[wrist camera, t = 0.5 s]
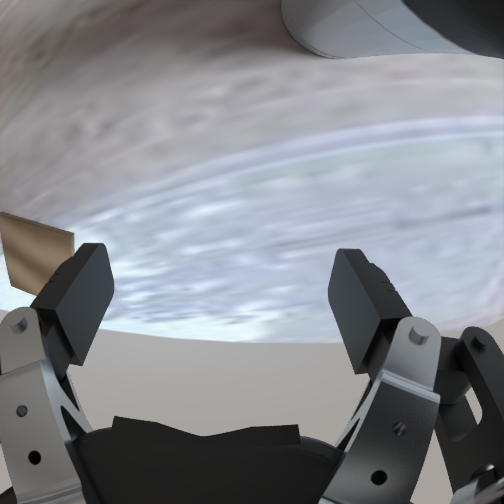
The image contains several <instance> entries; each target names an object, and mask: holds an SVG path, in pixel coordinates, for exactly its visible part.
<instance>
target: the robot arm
mask: <svg viewBox="0 0 504 504" xmlns="http://www.w3.org/2000/svg"><path fill="white" fill-rule="evenodd" d="M281 13H282V18H283V21H284V24H285V26H286V28H287V29H288V31H289V32H290V34H291V35H292V36H293V37H294V39H295V40H296V41H297V42H298V43H299V44H301V45H302V46H303V47H305V48H306V49H308V50H310V51H311V52H313V53H315V54H317V55H321V56H324V57H327V58H333V59H349V58H357V57H368V56H379V55H392V54H413V53H452V54H469V55H482V56H488V57H495V58H501V59H504V0H282V2H281ZM113 294H114V279H113V275H112V271H111V267H110V262H109V258H108V253H107V249H106V246H105V245H104V244H103V243H83V244H82V245H81V247H80V248H79V249H78V250H77V252H76V253H75V254H74V255H73V256H71V257H70V258H69V259H67V260H66V261H64V262H63V263H62V264H60V266H59V267H58V268H57V270H56V271H55V272H54V275H52V276H51V277H50V279H49V280H48V283H46V284H45V285H44V287H43V288H42V290H41V291H40V292H39V294H38V295H37V297H36V298H35V299H34V301H33V302H32V304H31V305H30V307H20V308H17V309H14V310H13V311H11V312H9V313H8V314H7V315H6V316H5V317H4V318H3V320H2V322H1V324H0V443H1V446H2V450H3V454H4V458H5V462H6V465H7V469H8V473H9V476H10V479H11V482H12V485H13V486H12V487H10V488H9V489H7V490H6V491H5V492H3V493H2V494H0V504H413V503H412V502H410V499H411V496H412V494H413V491H414V489H415V486H416V484H417V481H418V478H419V475H420V473H421V469H422V467H423V464H424V461H425V457H426V454H427V451H428V447H429V444H430V440H431V437H432V433H433V429H435V433H436V436H437V439H438V442H439V445H440V448H441V451H442V455H443V458H444V462H445V465H446V468H447V472H448V476H449V480H450V483H451V487H452V491H453V497H452V499H451V502H450V504H504V355H503V353H502V351H501V350H500V348H499V347H498V345H497V343H496V342H495V340H494V339H493V337H492V336H491V335H490V334H489V333H488V332H486V331H485V330H483V329H481V328H479V327H474V326H471V327H468V328H466V329H465V330H464V331H463V333H462V335H461V337H460V338H459V339H456V338H449V337H442V336H440V333H439V331H438V330H437V328H436V327H435V326H434V325H433V324H431V323H430V322H429V321H427V320H425V319H423V318H420V317H413V316H412V314H411V312H410V311H409V309H408V308H407V306H406V304H405V303H404V301H403V300H402V298H401V297H400V295H399V294H398V292H397V291H395V288H394V286H393V284H392V283H390V280H389V279H388V277H387V276H386V274H385V273H384V271H382V270H381V269H380V268H379V267H377V266H376V265H375V264H373V263H369V261H368V260H367V258H366V257H365V255H364V254H363V252H362V251H361V250H360V249H341V248H340V249H338V250H337V253H336V256H335V260H334V265H333V269H332V273H331V278H330V282H329V286H328V299H329V303H330V306H331V309H332V311H333V314H334V317H335V319H336V322H337V325H338V327H339V330H340V333H341V336H342V338H343V341H344V344H345V347H346V350H347V352H348V355H349V358H350V361H351V364H352V367H353V370H354V373H355V374H364V373H368V375H369V377H370V379H369V381H368V383H367V385H366V387H365V389H364V391H363V393H362V396H361V398H360V400H359V402H358V404H357V406H356V408H355V410H354V412H353V414H352V416H351V418H350V420H349V422H348V424H347V426H346V427H345V429H344V431H343V432H342V434H341V436H340V437H339V439H338V440H337V442H336V444H335V445H334V446H332V445H330V444H328V443H326V442H323V441H320V440H317V439H314V438H310V437H305V436H300V434H299V428H298V424H296V425H282V426H261V427H249V428H244V429H240V430H236V431H231V432H226V433H222V434H216V435H211V436H198V435H194V434H191V433H188V432H184V431H181V430H178V429H175V428H172V427H169V426H166V425H163V424H160V423H157V422H151V421H144V420H136V419H130V418H123V417H118V416H114V419H113V424H112V427H109V428H103V429H98V430H95V431H94V430H93V429H92V427H91V426H90V424H89V422H88V420H87V419H86V416H85V414H84V412H83V409H82V407H81V404H80V402H79V399H78V397H77V394H76V391H75V389H74V386H73V383H72V380H71V377H70V375H69V373H68V371H67V368H68V366H69V364H74V365H78V366H83V363H84V361H85V358H86V356H87V353H88V351H89V348H90V346H91V344H92V341H93V339H94V337H95V334H96V332H97V330H98V328H99V325H100V323H101V321H102V319H103V317H104V314H105V312H106V310H107V308H108V306H109V304H110V302H111V299H112V297H113ZM471 387H472V388H473V390H474V392H475V394H476V397H477V399H478V401H479V403H480V406H481V408H482V419H481V421H480V423H479V424H478V425H477V423H476V420H475V418H474V415H473V413H472V410H471V408H470V406H469V403H468V401H467V399H466V397H465V394H466V393H467V391H468V390H469V389H470V388H471Z"/></svg>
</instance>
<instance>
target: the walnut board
mask: <svg viewBox="0 0 504 504" xmlns="http://www.w3.org/2000/svg"><path fill="white" fill-rule="evenodd" d="M0 230H1V237H2V243H3V249H4V255H5V260H6V265H7V270H8V274H9V279H10V283H11V286H13V287H15V288H17V289H20V290H22V291H25V292H27V293H30V294H33V295H35V296H37V295H38V294H39V292H40V291H41V290H42V288H43V287H44V285H45V284H46V283H48V280H49V279H50V277H51V276H52V275H54V272H55V271H56V270H57V268H58V267H59V266H60V264H62V263H63V262H64V261H66V260H67V259H69V258H70V257H71V256H73V255H74V233H71V232H68V231H64V230H61V229H57V228H54V227H50V226H47V225H44V224H40V223H37V222H33V221H30V220H27V219H23V218H20V217H17V216H13V215H10V214H7V213H4V212H1V213H0Z"/></svg>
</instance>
